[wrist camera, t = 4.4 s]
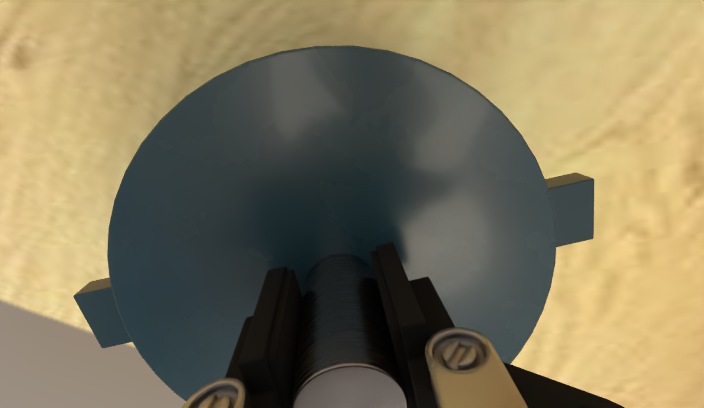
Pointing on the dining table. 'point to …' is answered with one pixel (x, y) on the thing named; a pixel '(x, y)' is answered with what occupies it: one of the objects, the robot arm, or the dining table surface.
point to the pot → (571, 226)
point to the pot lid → (327, 218)
